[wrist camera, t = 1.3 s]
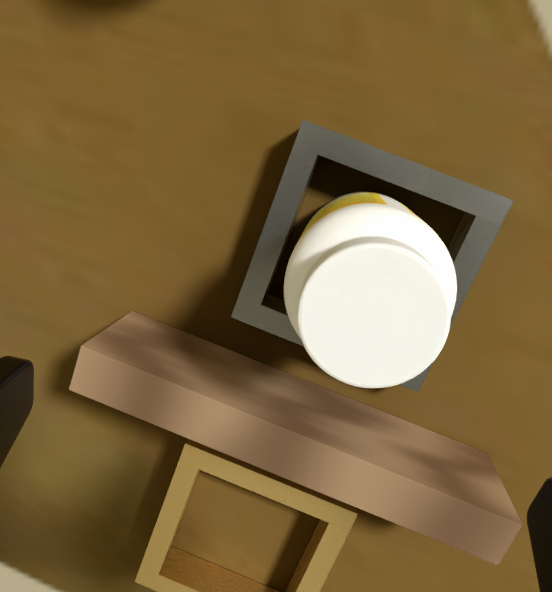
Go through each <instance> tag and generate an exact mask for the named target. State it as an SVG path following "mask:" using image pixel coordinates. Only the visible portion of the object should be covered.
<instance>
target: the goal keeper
mask: <svg viewBox="0 0 552 592" xmlns="http://www.w3.org/2000/svg"><path fill="white" fill-rule="evenodd" d="M200 470H202V471H204V472H207V473H209V474H211V475H214V476H216V477H219V478H221V479H224V480H226V481H228V482H231V483H233V484H236V485H238V486H241V487H243V488H245V489H248V490H250V491H253V492H255V493H258V494H260V495H262V496H265V497H267V498H270V499H272V500H275V501H277V502H280V503H282V504H284V505H287V506H289V507H292V508H294V509H297V510H299V511H301V512H304V513H306V514H309V515H311V516H314V517H316V518H318V519H320V520H319V522H318V524H317V526H316V528H315V530H314V532H313V535H312V537H311V539H310V541H309V543H308V545H307V547H306V549H305V551H304V554H303V556H302V558H301V560H300V562H299V564H298V566H297V568H296V570H295V573H294V575H293V577H292V579H291V581H290V583H289V585H288V587H287V590H286V592H320V590H321V588H322V586H323V584H324V582H325V580H326V578H327V576H328V574H329V572H330V569H331V567H332V565H333V563H334V561H335V559H336V557H337V555H338V553H339V551H340V549H341V547H342V545H343V543H344V541H345V539H346V537H347V535H348V533H349V531H350V529H351V527H352V525H353V523H354V521H355V519H356V517H357V515H358V508H357V507H354V506H352V505H349V504H347V503H344V502H342V501H339V500H337V499H335V498H332V497H330V496H327V495H325V494H322V493H320V492H317V491H315V490H313V489H310V488H308V487H305V486H303V485H300V484H298V483H295V482H293V481H291V480H288V479H286V478H283V477H281V476H278V475H276V474H273V473H271V472H269V471H266V470H264V469H261V468H259V467H256V466H254V465H252V464H249V463H247V462H244V461H242V460H239V459H237V458H234V457H232V456H230V455H227V454H225V453H222V452H220V451H217V450H215V449H212V448H210V447H208V446H205V445H203V444H200V443H198V442H195V441H193V440H190V439H187V441H186V443H185V445H184V448H183V451H182V453H181V456H180V459H179V462H178V464H177V467H176V470H175V473H174V475H173V478H172V481H171V484H170V486H169V489H168V492H167V495H166V497H165V500H164V503H163V505H162V508H161V511H160V514H159V516H158V519H157V522H156V525H155V527H154V530H153V533H152V536H151V538H150V541H149V544H148V547H147V549H146V552H145V555H144V558H143V560H142V563H141V566H140V569H139V571H138V574H137V577H136V579H135V582H136V583H138V584H141V585H143V586H146V587H148V588H150V589H153V590H155V591H157V592H279V591H277V590H275V589H272V588H270V587H267V586H265V585H263V584H260V583H258V582H255V581H253V580H251V579H248V578H246V577H243V576H241V575H239V574H236V573H234V572H232V571H229V570H227V569H224V568H222V567H220V566H217V565H215V564H212V563H210V562H208V561H205V560H203V559H200V558H198V557H196V556H193V555H191V554H188V553H186V552H184V551H181V550H179V549H176V548H174V547H172V544H173V541H174V539H175V536H176V533H177V531H178V528H179V526H180V523H181V520H182V518H183V515H184V512H185V510H186V507H187V505H188V502H189V499H190V497H191V494H192V491H193V489H194V486H195V484H196V481H197V478H198V476H199V473H200Z"/></svg>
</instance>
